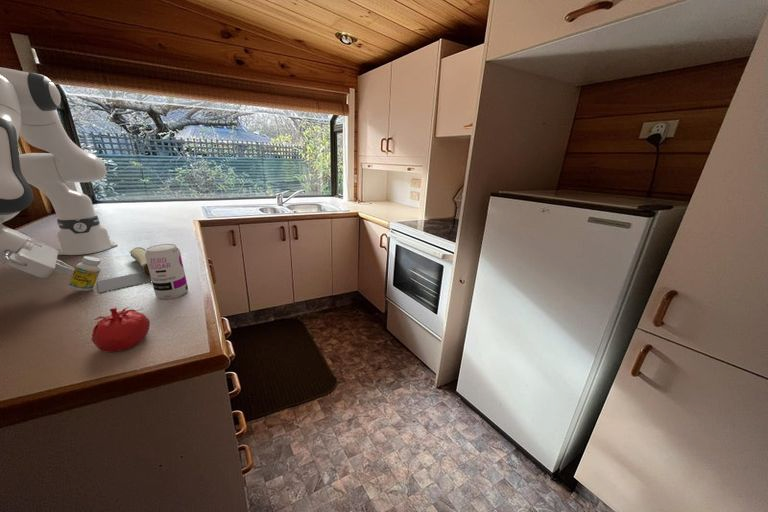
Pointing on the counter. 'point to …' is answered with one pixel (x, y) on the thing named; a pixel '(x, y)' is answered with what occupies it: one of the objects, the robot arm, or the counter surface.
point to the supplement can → (166, 271)
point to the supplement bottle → (85, 274)
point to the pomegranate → (120, 330)
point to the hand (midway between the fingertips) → (72, 271)
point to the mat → (123, 282)
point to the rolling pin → (140, 258)
